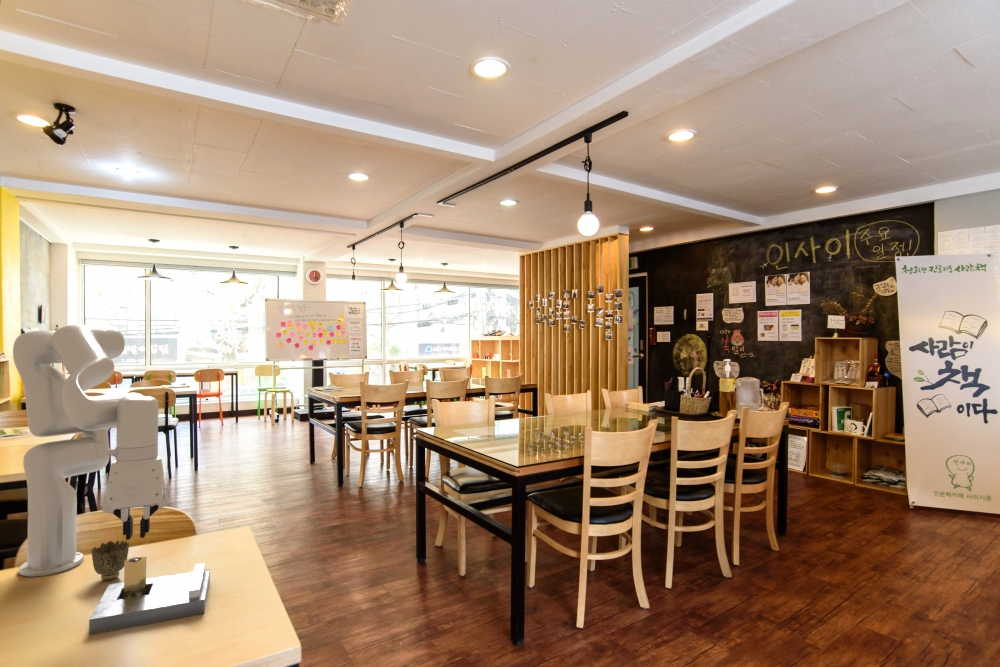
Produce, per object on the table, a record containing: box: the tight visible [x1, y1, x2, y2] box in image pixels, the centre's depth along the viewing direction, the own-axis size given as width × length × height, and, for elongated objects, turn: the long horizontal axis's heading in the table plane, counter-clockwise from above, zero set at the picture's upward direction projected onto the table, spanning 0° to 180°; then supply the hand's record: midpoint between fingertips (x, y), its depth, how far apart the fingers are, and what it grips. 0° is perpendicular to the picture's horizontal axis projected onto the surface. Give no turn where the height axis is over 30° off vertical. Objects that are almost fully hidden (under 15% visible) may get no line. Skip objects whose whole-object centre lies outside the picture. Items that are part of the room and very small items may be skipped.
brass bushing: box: [123, 555, 147, 599], centre depth 116 cm, size 4×4×10 cm
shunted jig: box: [88, 562, 211, 636], centre depth 116 cm, size 16×20×5 cm
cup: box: [90, 540, 130, 582], centre depth 129 cm, size 8×7×8 cm
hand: (136, 536), depth 116 cm, fingers closed
